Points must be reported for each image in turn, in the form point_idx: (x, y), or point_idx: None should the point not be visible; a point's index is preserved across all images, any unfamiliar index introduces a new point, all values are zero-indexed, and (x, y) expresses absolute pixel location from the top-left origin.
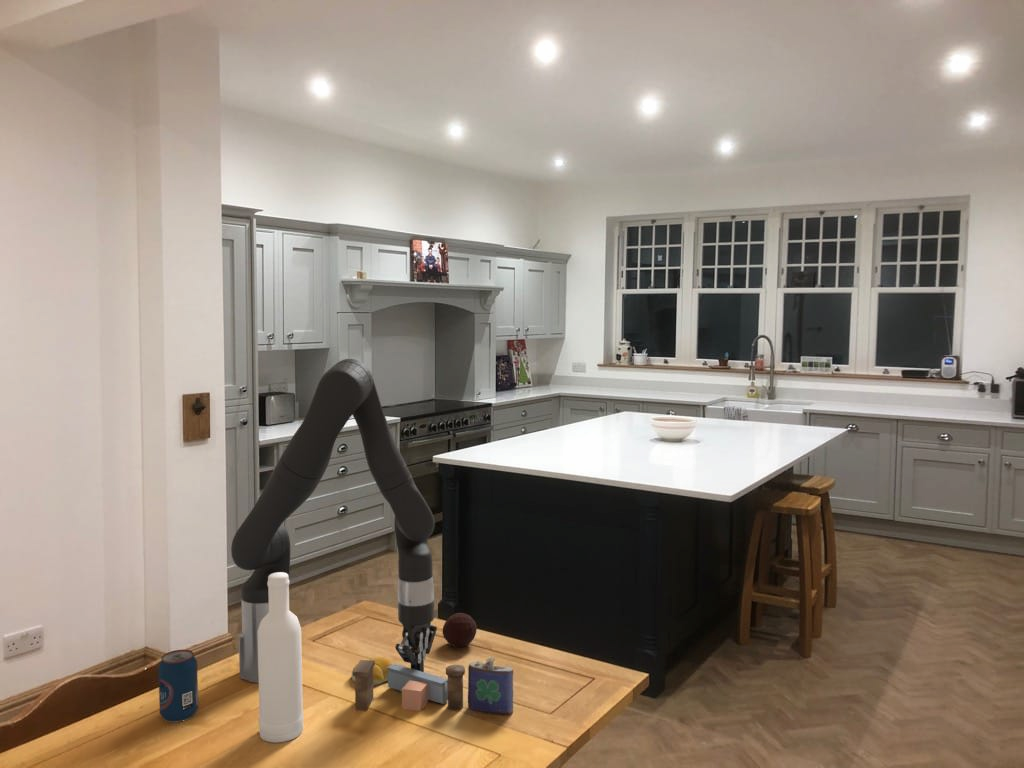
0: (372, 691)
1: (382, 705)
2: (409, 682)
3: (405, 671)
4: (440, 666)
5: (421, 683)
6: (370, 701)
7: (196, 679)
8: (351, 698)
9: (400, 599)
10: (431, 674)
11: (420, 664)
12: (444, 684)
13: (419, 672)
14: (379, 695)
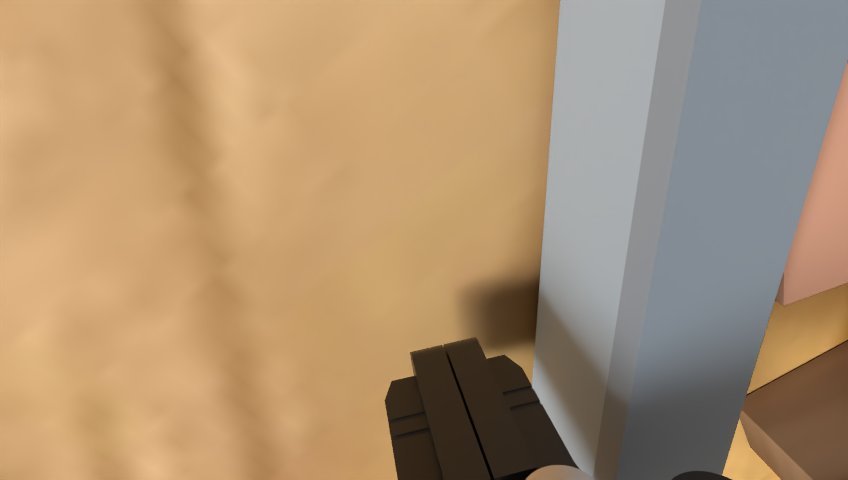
0: (805, 433)
1: (802, 299)
2: (833, 272)
3: (707, 446)
4: (19, 437)
5: (824, 146)
6: (822, 374)
7: None
8: (769, 475)
9: None
10: (675, 162)
11: (513, 454)
12: None
13: (679, 326)
14: None
